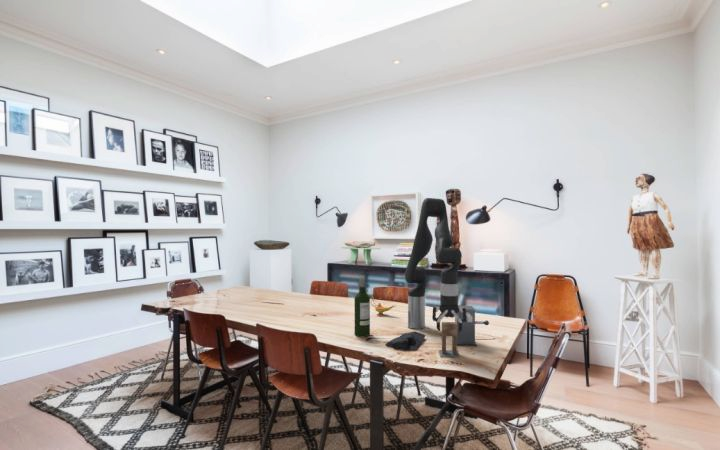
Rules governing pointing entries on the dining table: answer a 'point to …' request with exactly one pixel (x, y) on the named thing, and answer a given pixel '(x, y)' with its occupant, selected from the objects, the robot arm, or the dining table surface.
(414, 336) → the dark slate chunk
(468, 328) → the vise stand
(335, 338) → the dining table surface
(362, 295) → the wine bottle
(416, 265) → the robot arm
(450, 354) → the felt pad
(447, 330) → the slotted wooden collar
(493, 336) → the dining table surface
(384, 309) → the magic lamp
